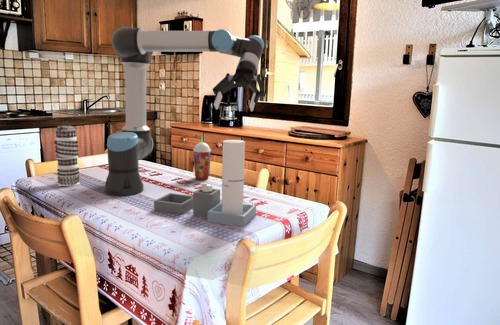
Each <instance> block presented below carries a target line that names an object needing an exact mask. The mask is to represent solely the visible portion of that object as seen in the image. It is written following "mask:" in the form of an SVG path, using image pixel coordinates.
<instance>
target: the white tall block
mask: <svg viewBox="0 0 500 325" xmlns="http://www.w3.org/2000/svg"><path fill="white" fill-rule="evenodd" d="M245 151H246V141H244V140H242V139H241V140H240V139H224V140H222V163H221V166H222V167H221V171H222V172H221V201H222V213H229V214H237V215H243V204H244V194H245V193H244V188H245V185H244V184H245V159H246V158H245V155H246V154H245V153H246V152H245Z"/></svg>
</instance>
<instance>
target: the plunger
mask: <svg viewBox="0 0 500 325" xmlns="http://www.w3.org/2000/svg"><path fill="white" fill-rule="evenodd" d="M201 188H202V192H204V193H212V189H213V184H211V183H203V184H201Z"/></svg>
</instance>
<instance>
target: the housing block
mask: <svg viewBox="0 0 500 325" xmlns="http://www.w3.org/2000/svg"><path fill="white" fill-rule="evenodd" d="M192 196H193V208H192V216H198V217H205V218H206V217H207V211H209V210H210V209H212V208H213V207H214V206H216V205H217V204H219V203H220V202H221V189H219V188H212V193H204V192H202V187H200V188H198V189H196V190H195V191H193V193H192Z"/></svg>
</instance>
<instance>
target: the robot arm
mask: <svg viewBox="0 0 500 325" xmlns="http://www.w3.org/2000/svg"><path fill="white" fill-rule="evenodd" d="M111 45H112V46H111V47H112V49H113V51H114V52H115V53H116V54H117V55H118V56H121V57H120V60H121V64H122V66H123V67H124V70H125V71H124V72H125V73H124V76H125V78H124V79H125V84H124V85H125V86H124V87H125V88H124V90H125V91H124V92H125V94H124V95H125V125H124V126H123V127H122V128H121V131H120V132H114V133H111V134H109V135H108V137H107V143H106V147H107V162H108V164H107V166H108V168H107V169H108V175H107V177H106V181H105V184H104V193H105V194H107V195H111V196H129V195H137V194H140V193H142V192H143V191H144V188H145V187H144V183H143V180H142V177H141V174H140V168H139V165H140V164H139V161H140V160H142V159H144V158H146V157H148V155H149V154H151V152H152V151H153V148H154V141H153V137H152V136H151V129H150V127H149V126H148V125H147V69H148V67H149V66H151V57H152V56H153V54H154V52H155V53H156V52H161V53H163V52H165V53H166V52H169V53H172V52H174V53H175V52H176V53H177V52H181V53H182V52H185V53H187V52H190V53H191V52H193V53H194V52H195V53H196V52H198V53H199V52H200V53H201V52H203V53H204V52H206V53H208V52H209V53H210V52H211V53H212V52H213V53H220V54H224V55H227V56H228V55H229V56H232V57H237V58H239V61H238V63H237V66H236V69H235V72H234V74H233V75H232V74H230V73H226V75H225V76H224V78H222V79H221V80H220V81H219V82H218V83H217V84H216V85H215V86H214V87H213V88H212V92H213V94H214V102H213V107H214V108H215V110H218V109H219V107H220V104H221V101H222V99H223V95H224V94H225V93H227V92H229V91H230V90H232V89H233V88H237V87H248V88H249V89H250V90H251V91H252V92H253V93H252V97H251V99H250V103H249V105H248V106H249V109H250V110H249V111H250V112H253V111H254V109H255V105H256V104H258V103H259V100H260V98H261V97H266V92H265V89H264V85H263V82H262V75H261V73H259V74H256V73H257V70H258V66H259V63H260V60H261V57H262V56H263V52H264V51H263V50H264V48H265V42H264V40H263V39H262V37H260V36H259V35H255V34H253V35H250V36H249V37H247V38H244V37H239V36H235V35H233V34H232V33H231V32H230V30H227V29H222V28H220V29H217V30H145V29H144V28H143V27H130V26H122V27H119V28H117V29H116V30H115V31H114V32H113V34H112V37H111ZM254 81H255V82H256V83H257V85H258V88H259V89H258V88H257V87H256V85H255V84H254Z"/></svg>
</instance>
